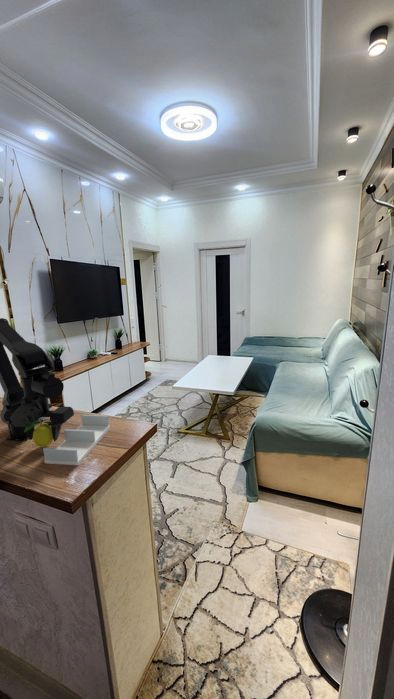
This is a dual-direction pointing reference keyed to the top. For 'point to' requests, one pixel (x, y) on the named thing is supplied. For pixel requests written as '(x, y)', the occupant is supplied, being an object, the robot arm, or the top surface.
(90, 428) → the white divided tray
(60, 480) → the top surface
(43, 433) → the lemon
